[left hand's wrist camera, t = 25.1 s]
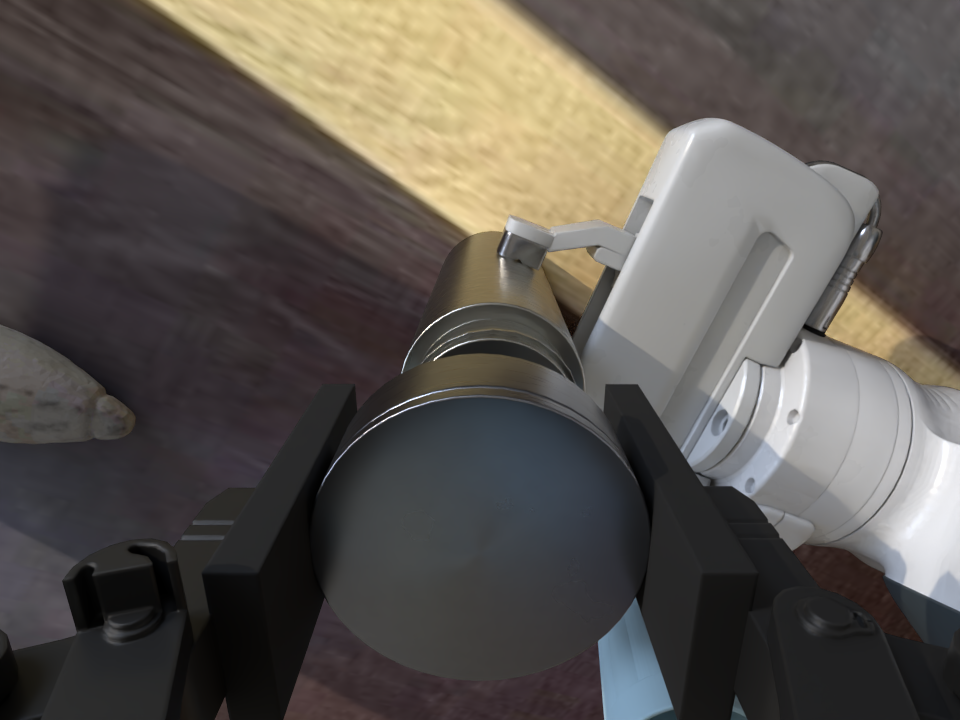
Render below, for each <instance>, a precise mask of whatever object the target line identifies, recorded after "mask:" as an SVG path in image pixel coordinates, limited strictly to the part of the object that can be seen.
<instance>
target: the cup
mask: <svg viewBox="0 0 960 720" xmlns="http://www.w3.org/2000/svg"><path fill="white" fill-rule="evenodd" d="M598 647H599V659H600V672H601V684H602V696H603V709H604V720H677V717H676V715H675V712H674V709H673V706H672V703H671V700H670V697H669V694H668V691H667V688H666V685H665V682H664V679H663V676H662V673H661V670H660V667H659V664H658V661H657V659H656V656H655V653H654V650H653V647H652V644H651V641H650V638H649V635H648V632H647V629H646V626H645V623H644V620H643V617H642V614H641V611H640V608H639V605H638V602H637V600H636V597H635V599H634V601H633V603H632V604H631V606H630V607H629V609H628V610H627V611H626V613H625V614H624V615H623V617H622V618H621V620H620V621H619V622H618V623H617V624H616V625H615V626H614V627H613V628H612V629H611V630H610V631H609V632H608V633H607V634H606V635H605V636H604V637H602V638H601V639H600V640H599V641H598ZM731 720H747V718H746V715H745V713H744V711H743V709H742V707H741V705H740V702H739V700H738V698H737V696H736V695H735V700H734V705H733V710H732V715H731Z"/></svg>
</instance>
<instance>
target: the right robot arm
mask: <svg viewBox="0 0 960 720" xmlns="http://www.w3.org/2000/svg"><path fill="white" fill-rule="evenodd" d="M867 215H868V218H867V222H866V224H864V223H863V222H864V220H865V219H866V217H867ZM880 216H881V200H880V196H879V191H878V188H877V187H876V186H875V185H874V184H873V183H872V182H871V181H870V180H869V179H868V178H866V177H865V176H863V175H861V174H859V173H856V172H854V171H852V170H850V169H847V168H845V167H843V166H841V165H838V164H836V163H834V162H829V161H812V162H808V163H805V164H804V163H803V162H801V161H800V160H798V159H797V158H795V157H794V156H792V155H791V154H789V153H788V152H786V151H784V150H783V149H781V148H780V147H778V146H776V145H775V144H773V143H771V142H769V141H768V140H766V139H764V138H762V137H761V136H759V135H757V134H755V133H753V132H751V131H749V130H747V129H745V128H743V127H741V126H739V125H737V124H735V123H733V122H730V121H728V120H724V119H719V118H704V119H699V120H695V121H692V122H689V123H687V124H684V125H682V126H679V127H677V128H675V129H673V130H671V131H670V132H669V133H668V134H667V135H666V137H665V139H664V141H663V143H662V145H661V147H660V149H659V152H658V154H657V156H656V158H655V160H654V162H653V164H652V167H651V169H650V171H649V173H648V175H647V177H646V179H645V182H644V184H643V186H642V188H641V190H640V192H639V195H638V197H637V199H636V201H635V203H634V205H633V207H632V210H631V212H630V214H629V216H628V218H627V220H626V222H625V225H624V227H623V229H621V228H618V227H616V226H613V225H611V224H608V223H606V222H603V221H601V220H592V221H585V222H579V223H573V224H566V225H560V226H554V227H551V228H550V230H549V229H547V228H544V227H542V226H539V225H537V224H534V223H532V222H529V221H527V220H524V219H522V218H519V217H516V216H513V215H509V217H508V220H507V222H506V225H505V227H504V230H503V233H502V235H501V238H500V241H499V243H498V246H497V249H496V250H497V253H498V254H499V255H501V256H503V257H505V258H508V259H512V260H516V259H520V260H521V262H522V264H524V265H526V266H528V267H531V268H533V269H536V270H538V271H539V269H540V267H541V264H542V262H543V260H544V258H545V256H546V253H547V251H548V252H553V251H560V250H568V249H575V248H583V247H586V250H587V252H588V253H589V255H590V256H591V257H592V258H593V259H594V260H595V261H597V262H599V263H601V264H604V265H606V266H605V268H604V270H603V272H602V274H601V276H600V278H599V281H598V283H597V285H596V287H595V289H594V291H593V293H592V296H591V298H590V300H589V302H588V304H587V306H586V309H585V311H584V313H583V315H582V317H581V319H580V321H579V324H578V326H577V328H576V330H575V332H574V334H573V337H572V341H573V343H574V345H575V348H576V350H577V353H578V355H579V357H580V360H581V364H582V367H583V370H584V376H585V390H586V392H585V393H586V394H587V395H589V396H590V397H591V399H592V400H593V401H594V402H595V403H596V404H597V405H598V406H599V408H600V409H601V410H602V411H603V410H604V397H605V384H638V385H639V387H640V388H641V390H642V392H643V393H644V395H645V396H646V398H647V399H648V401H649V402H650V404H651V406H652V407H653V409H654V410H655V412H656V413H657V415H658V416H659V418H660V420H661V421H662V423H663V424H664V426H665V427H666V429H667V430H668V432H669V434H670V435H671V437H672V438H673V440H674V441H675V443H676V444H677V446H678V448H679V449H680V451H681V452H682V454H683V455H684V457H685V458H686V460H687V462H688V463H689V465H690V466H691V468H692V469H693V471H694V472H695V474H696V476H697V477H698V479H699V480H700V482H701V483H702V485H703V486H733V487H734V488H736V489H737V490H738V491H740V492H741V493H743V494H744V495H746V496H747V497H749V498H750V499H752V500H753V501H755V503H756V504H757V505H758V507H759V508H760V509H761V511H762V512H763V513H764V515H765V516H766V517H767V519H768V523H771V524H772V525H773V527H774V528H775V529H776V531H777V532H778V533H779V537H780V538H783V540H784V541H785V542H786V544H787V545H788V546H789V548H790V549H791V550H792V551H793V550H794V549H796V548H798V547H799V546H801V545H802V544H807V545H813V546H823V547H835V548H841V549H845V550H847V551H849V552H851V553H852V554H853V555H854V556H856V557H857V558H858V559H860V560H861V561H862V562H864V563H865V564H867V565H869V566H870V567H872V568H875V569H877V570H879V571H881V572H883V573H885V575H884V576H882V577H883V579H884V582H885V584H886V586H887V588H888V590H889V592H890V594H891V596H892V597H893V599H894V601H895V602H896V604H897V605H898V607H899V608H900V610H901V611H902V612H903V614H904V615H905V617H906V618H907V620H908V621H909V622H910V624H911V625H912V627H913V628H914V629H915V631H916V632H917V634H918V635H919V636H920V638H921V639H922V641H923V642H924V643H927V644H931V645H936V646H940V647H944V648H949V647H950V644H951V641H952V638H953V635H954V632H955V631H957V630H958V629H959V628H960V390H957V389H954V388H950V387H945V386H937V385H924V384H919V383H917V382H915V381H913V380H912V379H911V378H910V377H909V376H908V375H907V374H906V373H905V372H903V371H902V370H901V369H900V368H898V367H897V366H895V365H894V364H892V363H890V362H888V361H886V360H884V359H882V358H880V357H877V356H875V355H872V354H870V353H867V352H865V351H862V350H860V349H857V348H855V347H852V346H850V345H847V344H845V343H842V342H840V341H837V340H835V339H833V338H830V337H828V336H826V335H825V332H826V330H827V329H828V327H829V325H830V324H831V322H832V321H833V319H834V317H835V316H836V314H837V312H838V311H839V309H840V307H841V306H842V304H843V302H844V301H845V299H846V297H847V295H848V294H847V292H849V290H850V288H851V287H850V286H851V285H852V284H853V282H854V281H853V279H855V278H856V276H857V273H859V271H860V270H861V268H862V266H863V265H864V263H867V262H868V261H869V259H870V258H871V257H872V255H873V254H874V252H875V250H876V249H877V247H878V244H879V242H880V240H881V237H882V234H883V231H882V230H880V229H878V228H877V226H878V223H879V220H880Z"/></svg>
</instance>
